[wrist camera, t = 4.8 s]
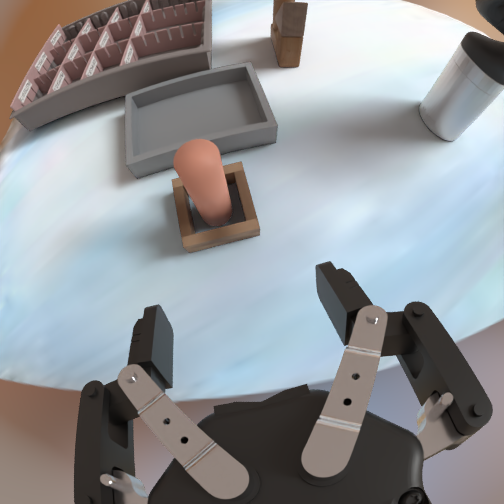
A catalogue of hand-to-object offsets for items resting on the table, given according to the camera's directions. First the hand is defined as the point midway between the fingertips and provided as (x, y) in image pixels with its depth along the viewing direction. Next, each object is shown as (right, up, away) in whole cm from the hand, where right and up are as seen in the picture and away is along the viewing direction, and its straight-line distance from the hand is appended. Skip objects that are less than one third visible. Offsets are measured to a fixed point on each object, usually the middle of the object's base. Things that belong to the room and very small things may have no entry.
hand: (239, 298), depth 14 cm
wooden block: (+7, +39, +28) cm, 49 cm away
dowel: (-4, +7, +21) cm, 23 cm away
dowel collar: (-4, +7, +21) cm, 23 cm away
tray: (-7, +22, +24) cm, 33 cm away
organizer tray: (-26, +43, +30) cm, 59 cm away
